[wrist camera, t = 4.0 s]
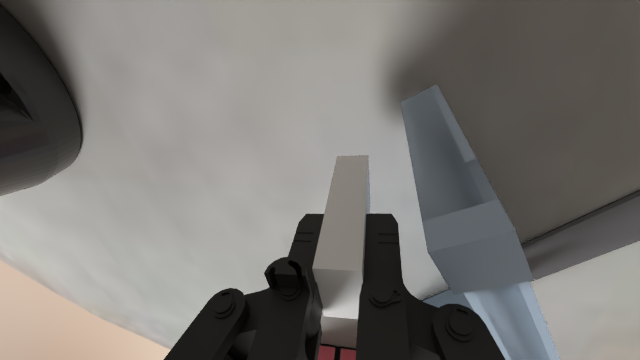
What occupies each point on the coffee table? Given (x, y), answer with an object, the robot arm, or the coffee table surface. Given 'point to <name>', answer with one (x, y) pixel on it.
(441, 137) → the gate
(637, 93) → the coffee table surface
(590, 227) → the latch line mat
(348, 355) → the puzzle cube
